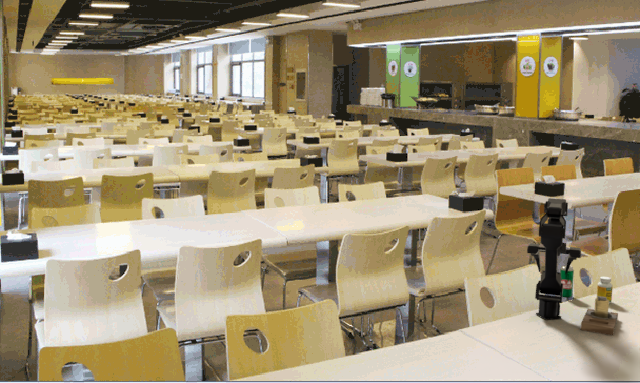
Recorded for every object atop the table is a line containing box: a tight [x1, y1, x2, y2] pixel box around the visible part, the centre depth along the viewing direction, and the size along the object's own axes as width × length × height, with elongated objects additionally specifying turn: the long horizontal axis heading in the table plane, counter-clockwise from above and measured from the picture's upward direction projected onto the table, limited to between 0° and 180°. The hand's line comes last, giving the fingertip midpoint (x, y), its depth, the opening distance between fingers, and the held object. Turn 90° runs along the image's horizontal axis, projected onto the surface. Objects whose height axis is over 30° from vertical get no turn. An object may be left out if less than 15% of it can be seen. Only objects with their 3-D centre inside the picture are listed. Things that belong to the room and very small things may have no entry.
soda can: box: [559, 265, 575, 299], centre depth 256 cm, size 5×5×12 cm
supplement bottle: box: [596, 276, 613, 304], centre depth 249 cm, size 5×5×10 cm
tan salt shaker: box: [594, 296, 610, 318], centre depth 226 cm, size 4×4×9 cm
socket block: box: [580, 308, 619, 336], centre depth 223 cm, size 18×10×2 cm, turn 151°
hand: (552, 273), depth 241 cm, fingers open, 9 cm apart
